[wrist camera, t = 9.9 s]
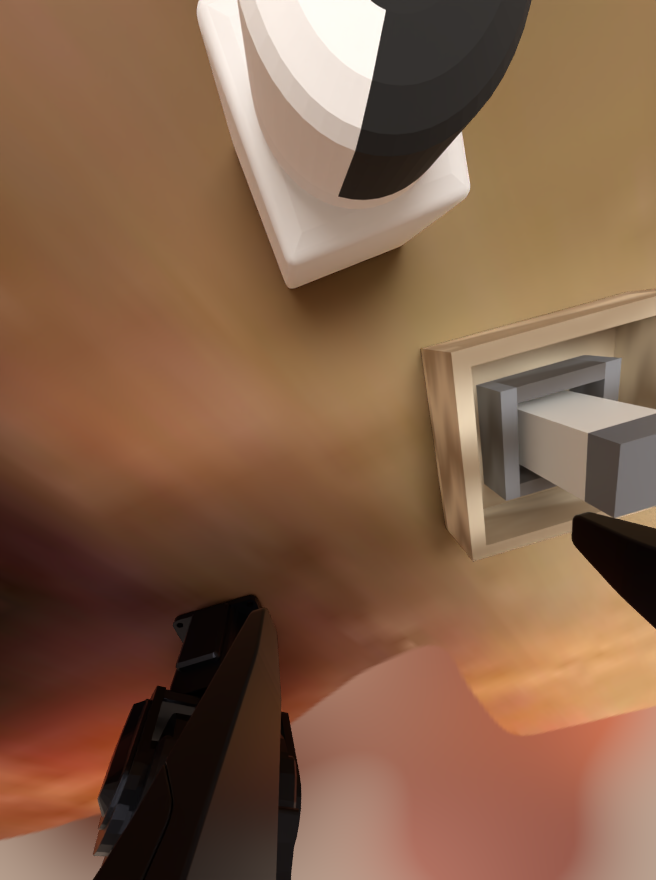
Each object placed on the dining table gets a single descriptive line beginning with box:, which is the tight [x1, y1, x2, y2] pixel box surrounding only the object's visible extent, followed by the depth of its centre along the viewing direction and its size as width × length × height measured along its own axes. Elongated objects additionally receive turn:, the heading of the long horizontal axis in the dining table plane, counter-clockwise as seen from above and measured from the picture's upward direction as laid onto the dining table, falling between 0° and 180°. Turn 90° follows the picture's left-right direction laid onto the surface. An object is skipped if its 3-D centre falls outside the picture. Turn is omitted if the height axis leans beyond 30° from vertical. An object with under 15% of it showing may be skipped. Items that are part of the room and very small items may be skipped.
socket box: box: [421, 289, 656, 562], centre depth 21 cm, size 14×14×4 cm
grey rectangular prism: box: [517, 390, 656, 518], centre depth 18 cm, size 4×4×8 cm
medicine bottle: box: [197, 0, 531, 289], centre depth 11 cm, size 7×7×12 cm
